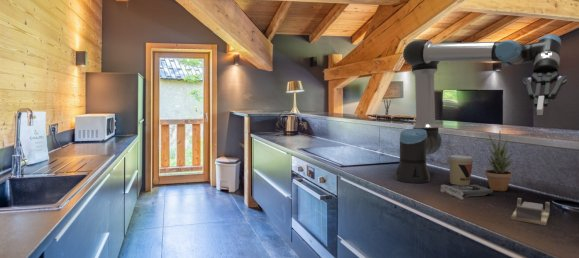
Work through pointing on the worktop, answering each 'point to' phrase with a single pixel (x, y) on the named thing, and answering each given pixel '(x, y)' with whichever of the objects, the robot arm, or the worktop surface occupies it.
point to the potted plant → (499, 167)
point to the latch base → (531, 214)
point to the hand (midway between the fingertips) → (539, 112)
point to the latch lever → (532, 205)
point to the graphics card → (465, 190)
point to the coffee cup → (460, 169)
